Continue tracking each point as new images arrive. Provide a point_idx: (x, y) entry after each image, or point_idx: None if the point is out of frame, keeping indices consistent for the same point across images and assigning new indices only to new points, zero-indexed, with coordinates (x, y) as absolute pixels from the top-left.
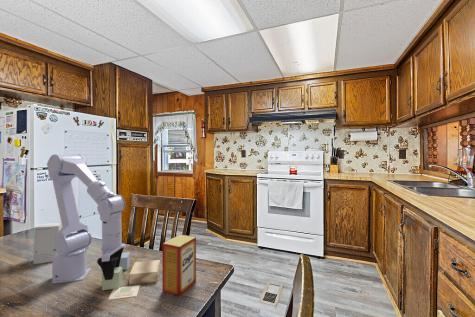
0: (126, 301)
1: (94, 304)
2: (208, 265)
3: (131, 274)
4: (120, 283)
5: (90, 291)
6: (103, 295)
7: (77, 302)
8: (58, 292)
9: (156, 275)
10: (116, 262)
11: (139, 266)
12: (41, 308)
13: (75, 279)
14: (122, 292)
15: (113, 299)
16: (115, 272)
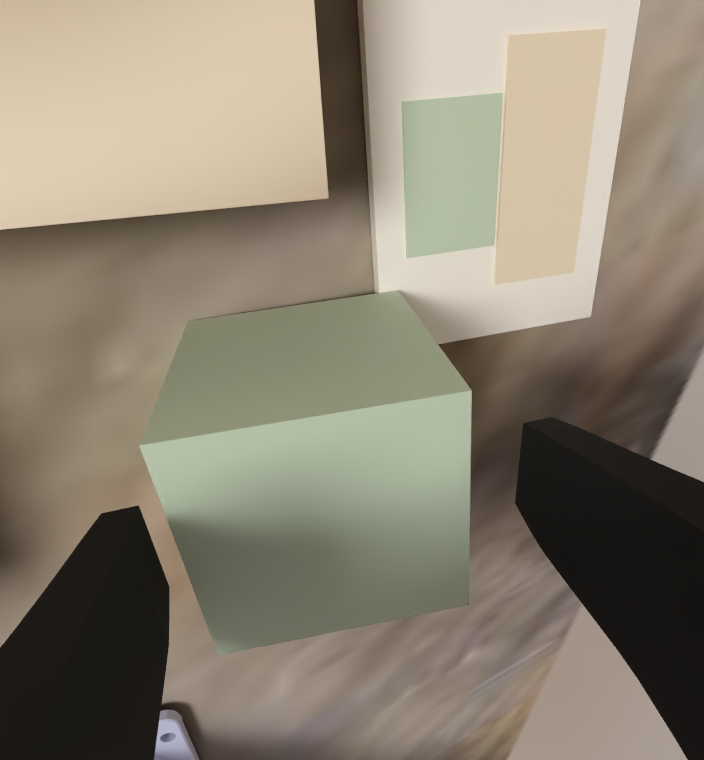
0: (669, 87)
1: (591, 407)
2: None
3: (321, 150)
4: (308, 311)
5: None
6: None
7: (516, 542)
8: (348, 721)
9: None
10: (126, 633)
11: None
12: (515, 680)
13: (183, 754)
14: (515, 201)
15: (593, 263)
16: (450, 455)
